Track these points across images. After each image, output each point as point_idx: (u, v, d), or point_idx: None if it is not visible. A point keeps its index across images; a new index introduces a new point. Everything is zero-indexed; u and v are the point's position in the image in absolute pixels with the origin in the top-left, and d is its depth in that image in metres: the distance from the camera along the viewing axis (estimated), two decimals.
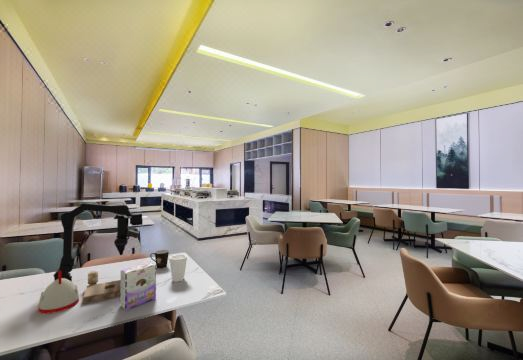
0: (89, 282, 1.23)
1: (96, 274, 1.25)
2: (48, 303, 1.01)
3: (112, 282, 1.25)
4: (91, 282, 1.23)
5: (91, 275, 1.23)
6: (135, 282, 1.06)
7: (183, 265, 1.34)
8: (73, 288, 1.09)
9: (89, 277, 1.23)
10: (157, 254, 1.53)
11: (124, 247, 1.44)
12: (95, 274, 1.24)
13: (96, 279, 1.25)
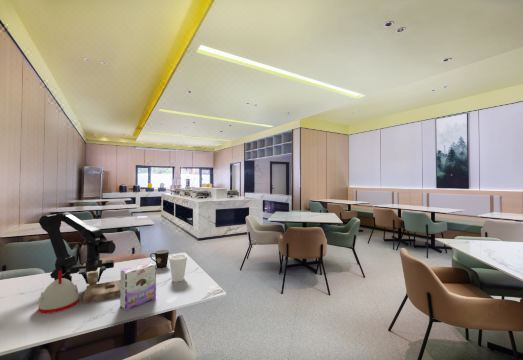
0: (89, 282, 1.23)
1: (96, 274, 1.25)
2: (48, 303, 1.01)
3: (112, 282, 1.25)
4: (91, 282, 1.23)
5: (91, 275, 1.23)
6: (135, 282, 1.06)
7: (183, 265, 1.34)
8: (73, 288, 1.09)
9: (89, 277, 1.23)
10: (157, 254, 1.53)
11: (98, 278, 1.26)
12: (95, 274, 1.24)
13: (96, 279, 1.25)
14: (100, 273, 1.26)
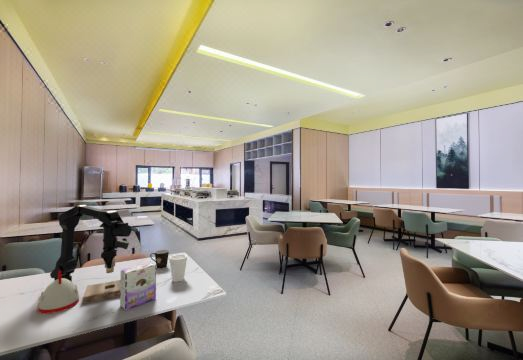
0: (113, 264, 1.20)
1: None
2: (48, 303, 1.01)
3: (112, 282, 1.25)
4: (114, 264, 1.21)
5: (114, 257, 1.21)
6: (135, 282, 1.06)
7: (183, 265, 1.34)
8: (73, 288, 1.09)
9: (113, 259, 1.20)
10: (157, 254, 1.53)
11: None
12: None
13: None
14: None
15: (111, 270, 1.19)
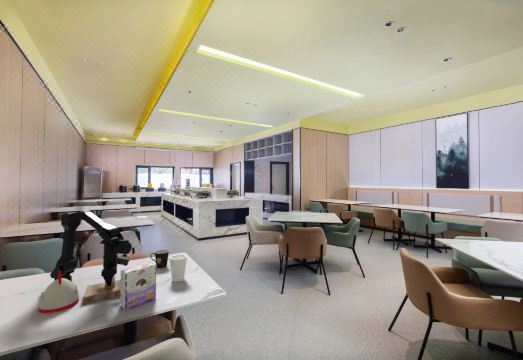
0: (113, 285, 1.19)
1: None
2: (48, 303, 1.01)
3: None
4: (114, 284, 1.20)
5: (114, 277, 1.20)
6: (135, 282, 1.06)
7: (183, 265, 1.34)
8: (73, 288, 1.09)
9: (113, 280, 1.19)
10: (157, 254, 1.53)
11: None
12: None
13: None
14: None
15: None
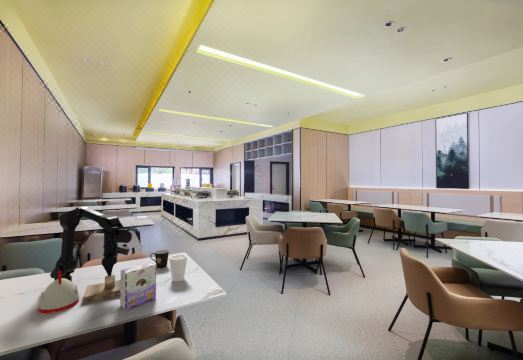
0: (113, 285, 1.19)
1: None
2: (48, 303, 1.01)
3: None
4: (114, 284, 1.20)
5: (114, 277, 1.20)
6: (135, 282, 1.06)
7: (183, 265, 1.34)
8: (73, 288, 1.09)
9: (113, 280, 1.19)
10: (157, 254, 1.53)
11: None
12: None
13: None
14: None
15: None
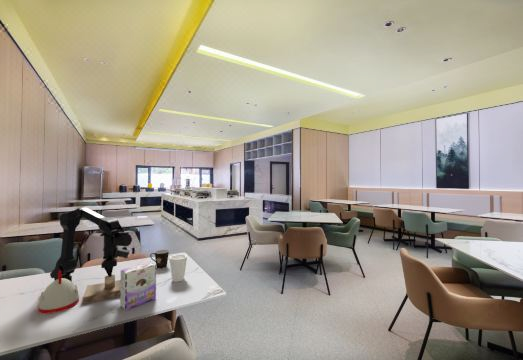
0: (113, 285, 1.19)
1: None
2: (48, 303, 1.01)
3: None
4: (114, 284, 1.20)
5: (114, 277, 1.20)
6: (135, 282, 1.06)
7: (183, 265, 1.34)
8: (73, 288, 1.09)
9: (113, 280, 1.19)
10: (157, 254, 1.53)
11: (111, 271, 1.20)
12: None
13: None
14: None
15: None
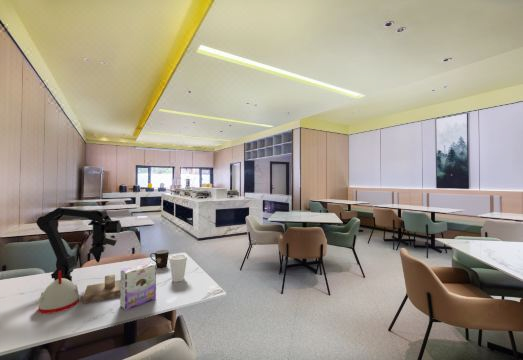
0: (113, 285, 1.19)
1: None
2: (48, 303, 1.01)
3: None
4: (114, 284, 1.20)
5: (114, 277, 1.20)
6: (135, 282, 1.06)
7: (183, 265, 1.34)
8: (73, 288, 1.09)
9: (113, 280, 1.19)
10: (157, 254, 1.53)
11: (99, 258, 1.29)
12: None
13: None
14: (101, 252, 1.30)
15: None
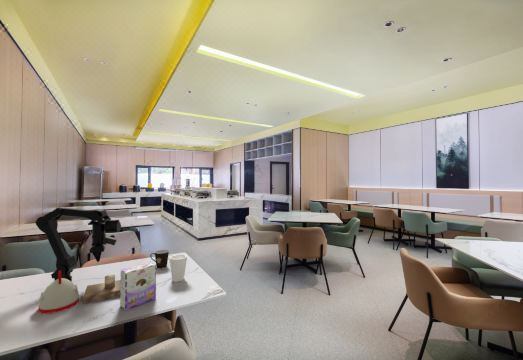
0: (113, 285, 1.19)
1: None
2: (48, 303, 1.01)
3: None
4: (114, 284, 1.20)
5: (114, 277, 1.20)
6: (135, 282, 1.06)
7: (183, 265, 1.34)
8: (73, 288, 1.09)
9: (113, 280, 1.19)
10: (157, 254, 1.53)
11: (99, 257, 1.29)
12: None
13: None
14: None
15: None
